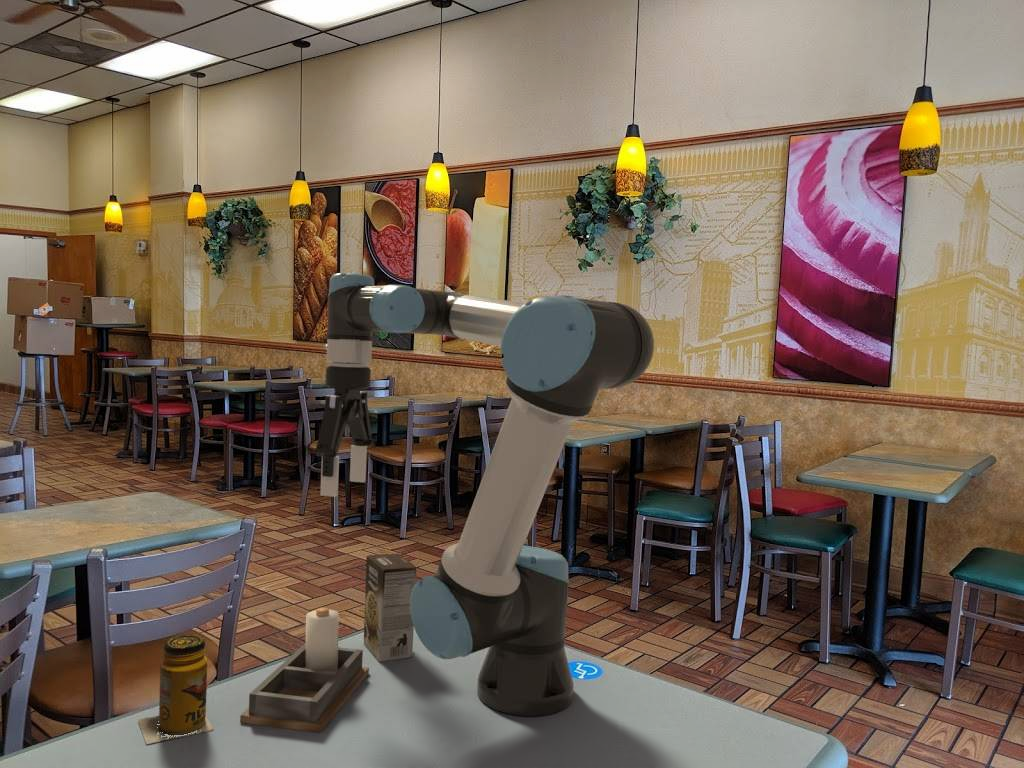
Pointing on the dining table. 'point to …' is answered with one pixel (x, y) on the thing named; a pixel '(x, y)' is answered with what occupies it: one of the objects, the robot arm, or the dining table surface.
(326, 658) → the cylinder
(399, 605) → the coffee box
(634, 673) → the dining table surface
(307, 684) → the grey wooden tray
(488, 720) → the dining table surface
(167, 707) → the condiment
